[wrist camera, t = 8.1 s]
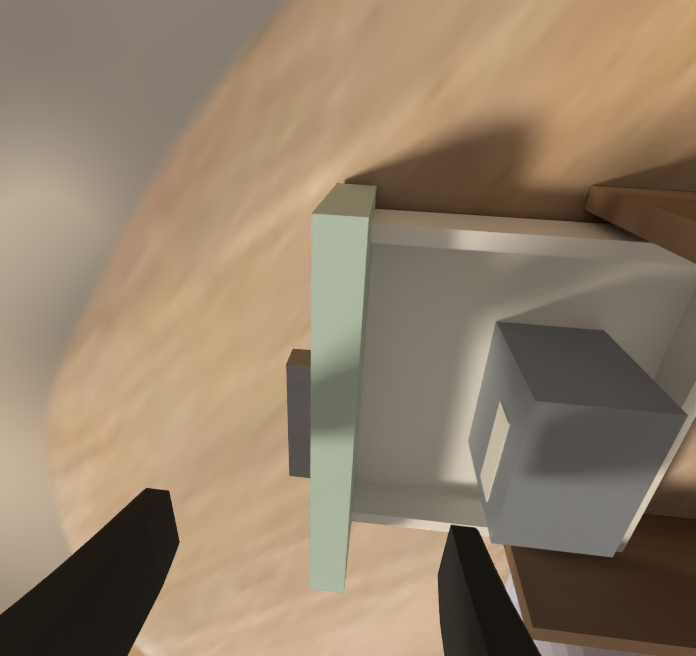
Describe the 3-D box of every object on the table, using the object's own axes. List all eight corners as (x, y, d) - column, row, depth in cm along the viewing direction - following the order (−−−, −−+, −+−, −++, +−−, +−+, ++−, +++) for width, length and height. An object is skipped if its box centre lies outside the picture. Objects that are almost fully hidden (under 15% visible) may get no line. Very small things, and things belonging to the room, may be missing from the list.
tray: (593, 517, 21) (650, 632, 16) (308, 486, 22) (286, 586, 17) (736, 207, 14) (908, 253, 9) (309, 181, 15) (270, 211, 10)
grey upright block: (605, 330, 16) (689, 415, 11) (560, 450, 18) (614, 557, 14) (494, 321, 16) (533, 400, 11) (466, 441, 19) (489, 542, 14)
